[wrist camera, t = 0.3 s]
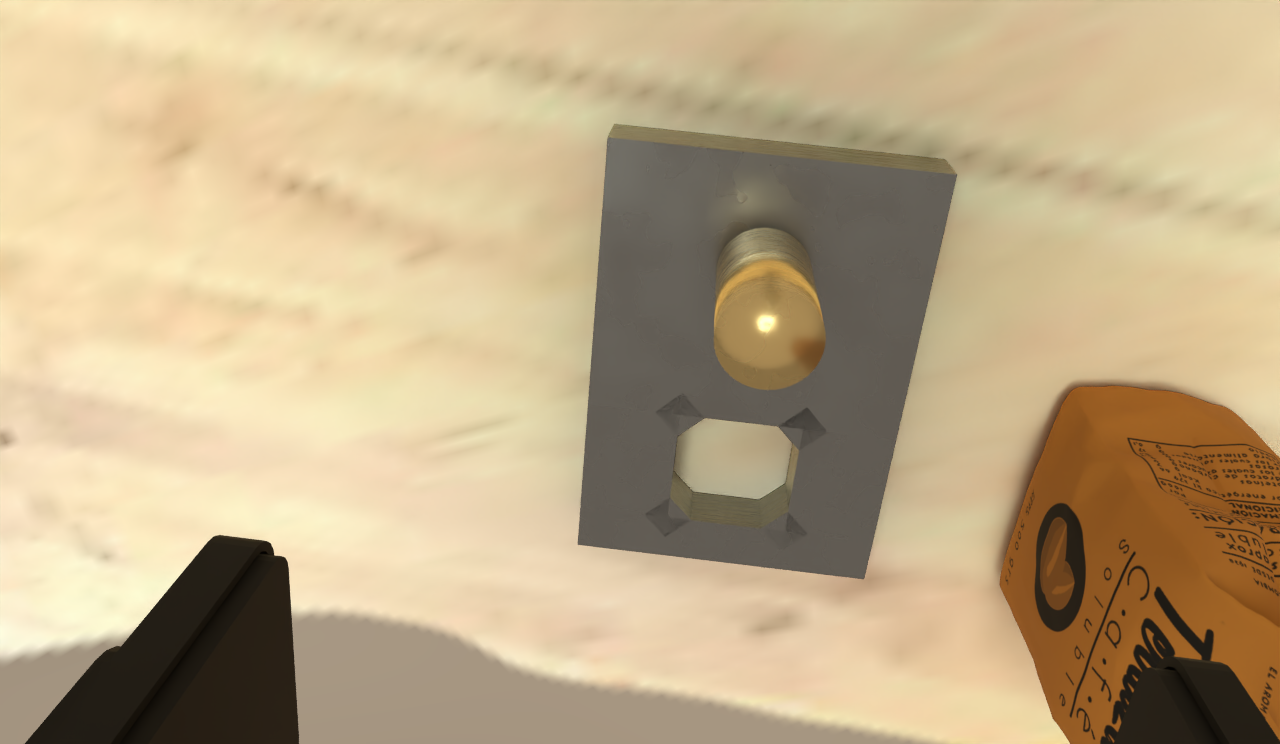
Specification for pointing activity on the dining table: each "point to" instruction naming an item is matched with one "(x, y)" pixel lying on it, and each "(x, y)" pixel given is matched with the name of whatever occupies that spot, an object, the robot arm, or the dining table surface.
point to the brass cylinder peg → (767, 310)
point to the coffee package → (1146, 553)
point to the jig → (685, 355)
